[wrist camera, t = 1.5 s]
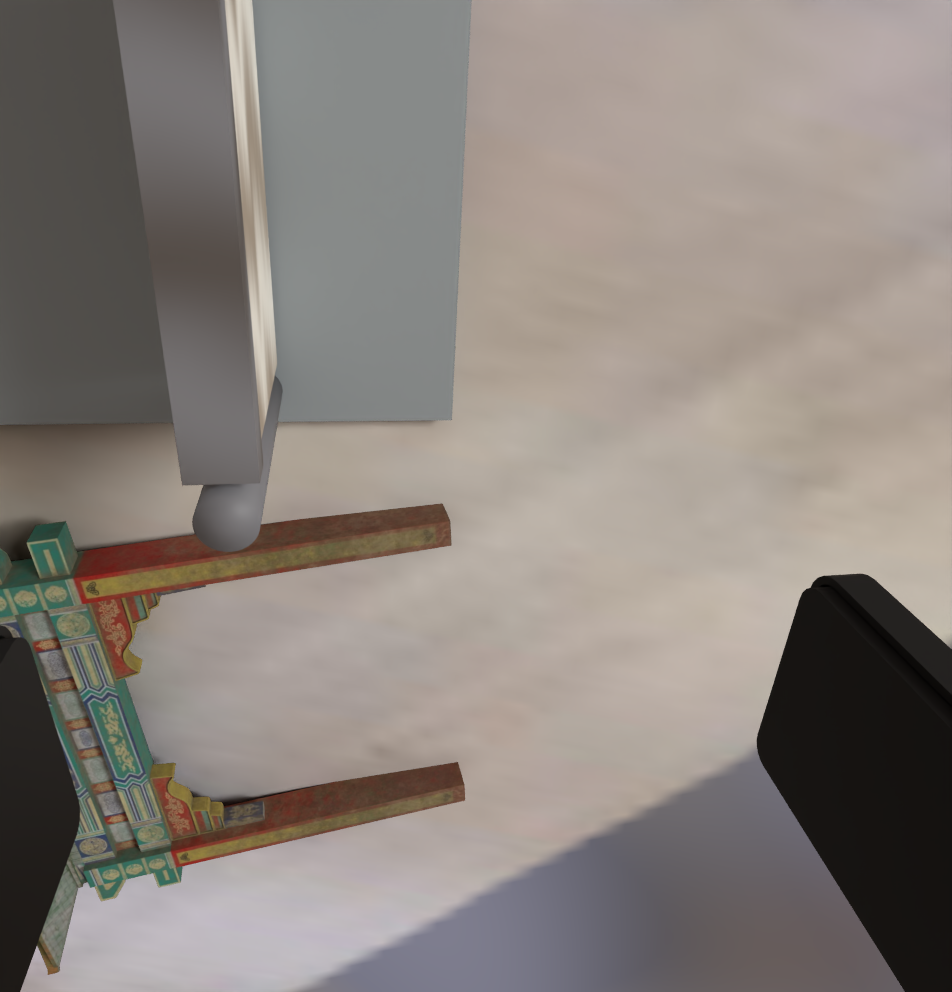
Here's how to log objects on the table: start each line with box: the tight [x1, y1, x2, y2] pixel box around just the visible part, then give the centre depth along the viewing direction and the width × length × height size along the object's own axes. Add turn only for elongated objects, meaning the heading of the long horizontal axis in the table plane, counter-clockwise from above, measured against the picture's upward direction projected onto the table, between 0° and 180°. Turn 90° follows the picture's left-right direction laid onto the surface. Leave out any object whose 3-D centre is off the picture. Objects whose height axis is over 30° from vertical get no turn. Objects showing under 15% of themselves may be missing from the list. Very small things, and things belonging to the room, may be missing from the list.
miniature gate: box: [0, 504, 465, 975], centre depth 36 cm, size 27×6×30 cm
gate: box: [113, 0, 277, 485], centre depth 21 cm, size 15×2×11 cm, turn 177°
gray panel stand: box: [0, 0, 471, 552], centre depth 21 cm, size 22×20×12 cm
